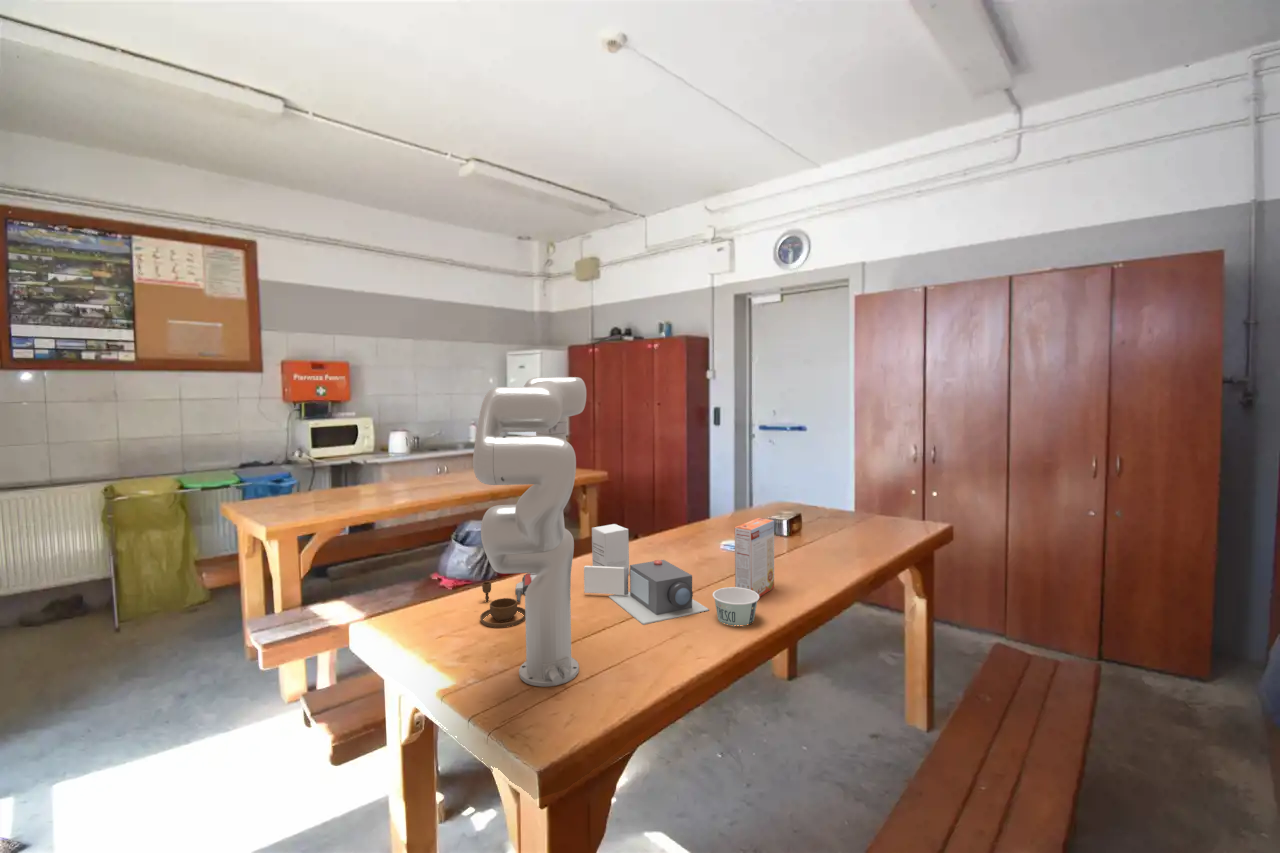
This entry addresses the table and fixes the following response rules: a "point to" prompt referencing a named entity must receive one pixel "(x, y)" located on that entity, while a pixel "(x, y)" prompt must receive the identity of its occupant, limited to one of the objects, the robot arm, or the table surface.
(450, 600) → the table surface
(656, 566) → the camera box
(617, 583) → the side door
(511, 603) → the place setting
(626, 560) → the supplement box
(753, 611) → the food container
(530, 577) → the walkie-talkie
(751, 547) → the cracker box
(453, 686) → the table surface
